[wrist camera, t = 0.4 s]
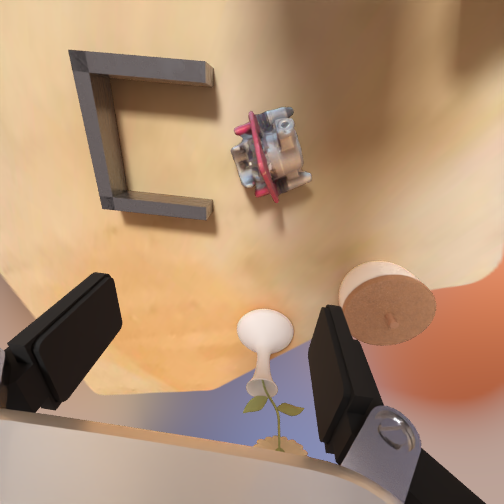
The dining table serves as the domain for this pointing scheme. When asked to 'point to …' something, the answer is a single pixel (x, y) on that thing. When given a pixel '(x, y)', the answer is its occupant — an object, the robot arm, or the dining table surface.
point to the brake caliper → (270, 153)
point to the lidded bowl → (385, 303)
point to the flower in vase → (268, 369)
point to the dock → (106, 133)
